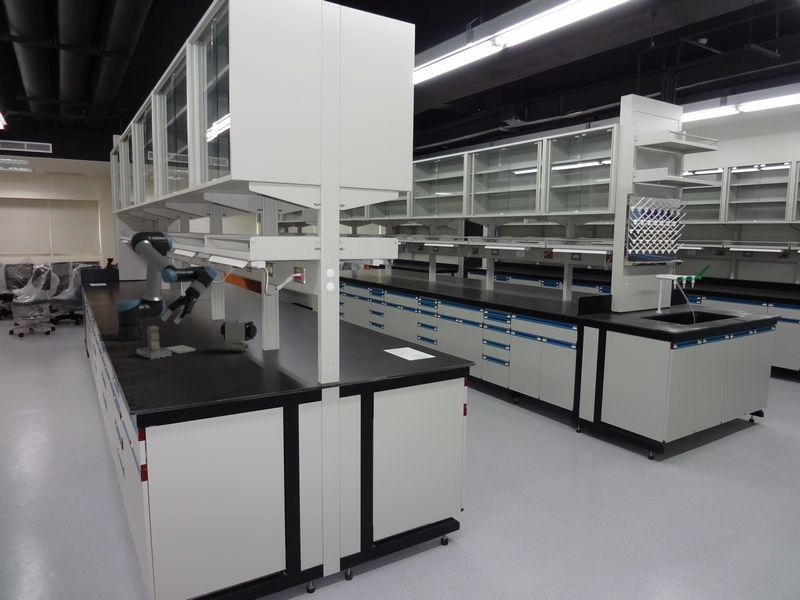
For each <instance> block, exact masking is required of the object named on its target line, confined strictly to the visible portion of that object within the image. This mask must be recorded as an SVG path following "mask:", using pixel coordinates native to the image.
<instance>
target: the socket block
mask: <svg viewBox="0 0 800 600" xmlns="http://www.w3.org/2000/svg"><path fill="white" fill-rule="evenodd" d="M159 347H160V350H155V351H149V350H148V346H147V347H140V348H136V355H137V354H138V355H137V356H140V355H141V356H140V357H143V356H144V357H143V358H145V357H147V358H146V359H148V358H150V359H149V360H155V359H154V358H157V359H161V358H160V357H163V358H166V356H169V357H172V352H171V350H169V349H165V348H166V347H162V346H159Z"/></svg>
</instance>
